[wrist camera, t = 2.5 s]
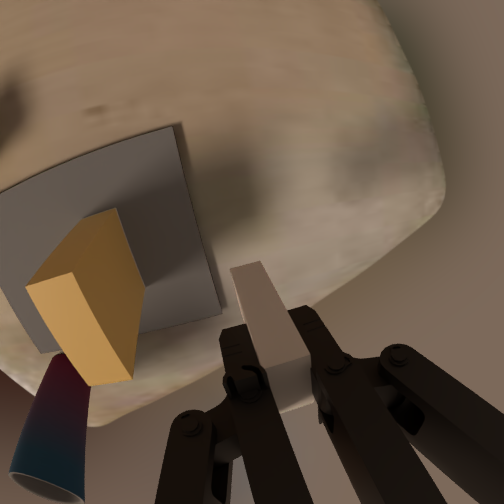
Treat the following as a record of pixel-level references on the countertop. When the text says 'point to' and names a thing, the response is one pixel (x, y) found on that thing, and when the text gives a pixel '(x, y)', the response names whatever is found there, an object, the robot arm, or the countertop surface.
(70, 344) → the ochre slab
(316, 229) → the countertop surface
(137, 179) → the mat
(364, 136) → the countertop surface
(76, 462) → the cup
